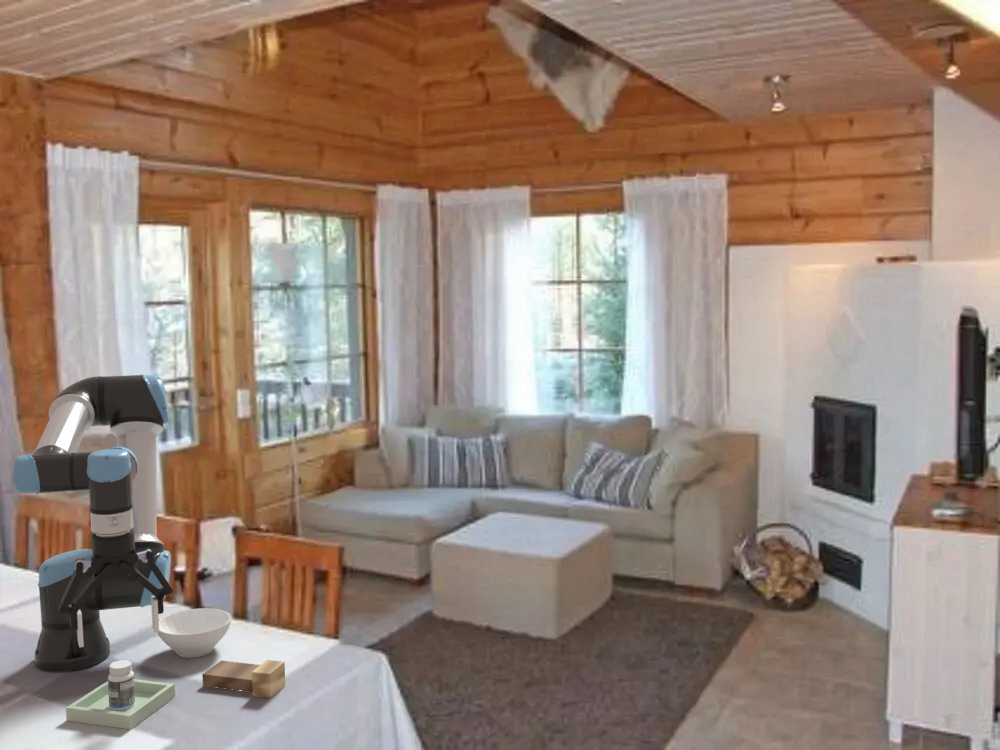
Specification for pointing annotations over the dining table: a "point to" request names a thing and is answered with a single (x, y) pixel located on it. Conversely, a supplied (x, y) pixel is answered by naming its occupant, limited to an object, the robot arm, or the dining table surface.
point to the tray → (99, 713)
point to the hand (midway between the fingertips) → (119, 637)
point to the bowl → (194, 630)
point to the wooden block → (268, 678)
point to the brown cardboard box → (230, 676)
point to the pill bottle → (121, 685)
